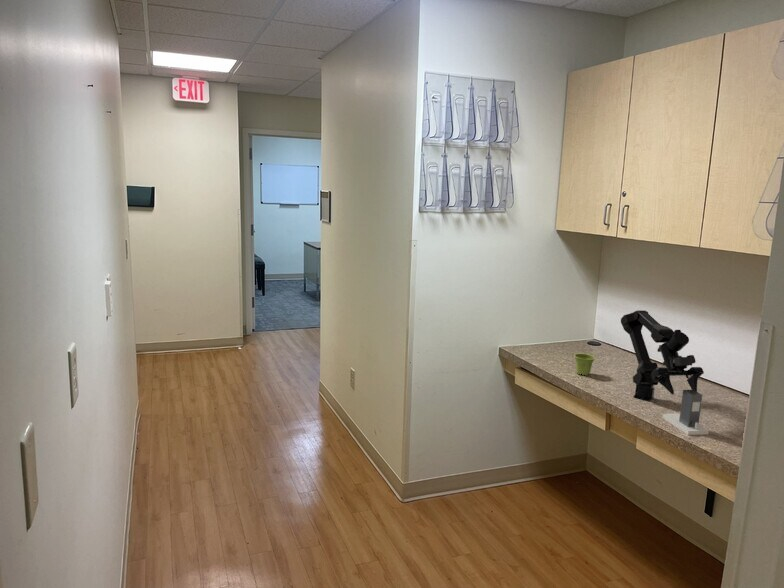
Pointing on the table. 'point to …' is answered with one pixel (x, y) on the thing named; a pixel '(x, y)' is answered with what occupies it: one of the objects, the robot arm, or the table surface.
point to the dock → (688, 430)
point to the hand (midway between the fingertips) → (684, 393)
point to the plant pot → (583, 363)
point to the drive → (690, 407)
